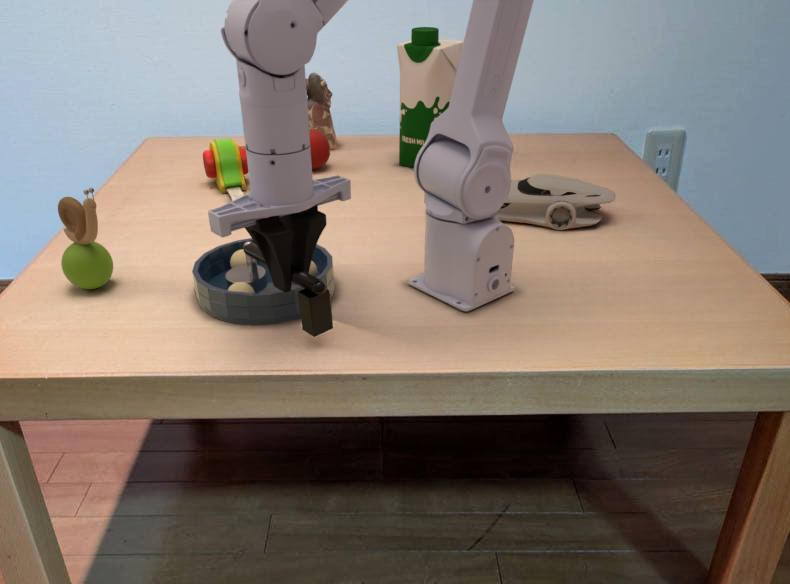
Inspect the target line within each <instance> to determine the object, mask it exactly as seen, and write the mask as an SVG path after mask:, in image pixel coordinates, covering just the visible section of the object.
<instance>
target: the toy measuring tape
mask: <svg viewBox="0 0 790 584" xmlns="http://www.w3.org/2000/svg"><path fill="white" fill-rule="evenodd" d="M238 146H239V145H238V142H237V140H235V139H232V138H231V137H229V138H228V137H227V138H217V139H213V141H211V142H210V143H209V149H206V150H204V151H203V152H202V162H203V163H202V164H203V168H204V172H205V175H206V177H207V178H208V179H214V181H215V183H216V185H217V187H218V189H219V191H220V192H221V193H222V194H226V193H228V195H229V196H230V199H231V202H232V201H234V200H236V199H238V198H240V197H242V196H244V195H245V194H244V192H243V191H246V190H247V185H246V180H245V175H248V174H249V172H248V164H247V156H246V150H245V149H244V148H243V147H238Z"/></svg>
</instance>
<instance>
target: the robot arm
mask: <svg viewBox="0 0 790 584" xmlns="http://www.w3.org/2000/svg"><path fill="white" fill-rule="evenodd" d="M348 1H349V0H231V2H230V4H229V5H228V7H227V10H226V14H227V16H226V17H225V18H224V26H223V27H221V28H220V34H221V37H222V41H223V43H224V45H225V47H226V49H227V51H228V52H229V53H230V54H231V55H232V57H234V59H235V63H236V70H237V79H238V87H239V91H238V95H239V103H240V111H241V120H242V128H243V137H244V146H245V147H246V156H247V164H248V179H249V188H250V189H249V190H250V192H248V193H246V194H244V196H242V197H240V198H238V199H236V200H234V201H232V200H231V201H230V202H227V203H226V204H224V205H222V206H219V207H216V208H213V209H210V210H208V211H207V214H208V222H209V227H210V232H212V233H213V234H215V235H216V236H218V237H220V238H226V237H229V236H231V235H232V232H235V231H238V230H241V229H245V230H246V232H247V233H248V235H249V237H250V238H252V239H253V240H254V242H255V244H256V245H257V247H258V249H259V250H260V252H261V254H262V256H263V258H264V260H265V262H266V265H267V267H268V270H269V272H270V275H271V278H272V281H273V284H274V287H276V288H278V289H279V290H281V291H283V292H285V293H286V292H289V291H291V285H292V282H293V281H292V280H291V268H290V264H292V265H294V266H296V267H298V268H300V269H301V270H303V271H305V272H307V273H309V269H310V265H311V260H312V257H313V253H314V250H315V247H316V244H318V242H319V239H320V237H321V235H322V233H323V231H324V230H325V228H326V226H327V214H325V213H324V212H322V211H320V210H319V206H322V205H325V204H329V203H332V202H336V201H340V202H346V201H349V200H351V199H352V187H351V180H350V178H346V177H344V176H341V175H339V174H337V175H333V176H328V177H322V178H315V179H313V169H312V164H311V148H310V134H309V119H308V104H307V98H308V96H307V90H306V79H307V78H306V65H307V64H309V63H310V62H311V60H312V58H313V56H314V54H315V52H316V51H315V50H316V46H317V40H318V33H319V32H320V31H321V30H322V29H323V28H324V27H325V26H326V25H327V24H328V23H329V22H330V21H331V20H332V19H333V18H334V16H336V14H338V12H339V11H341V9H342V8H343V7H344V6H345V4H347V3H348ZM533 4H534V0H472V4H471V8H470V13H469V17H468V22H467V26H466V30H465V35H464V39H463V41H464V43H463V47H462V51H461V56H460V60H459V65H458V69H457V73H456V78H455V82H454V86H453V91H452V95H451V99H450V104H449V107H448V108H447V110H445V111H444V112H443V113H442V114H441V115H440V116H438V117H437V118H436V119H435V120H434V121H433V122H432V123H431V127H430V131H429V135H428V137H427V140H426V142H425V143H424V145H423V146H422V148H421V149H420V151H419V153H418V155H417V157H416V160H415V164H414V168H413V176H414V180H415V182H416V184H417V186H418V187H419V188H420V190H421V191H422V192H424V195H423V196H424V198H423V202H424V203H425V219H424V221H425V222H424V223H425V224H424V227H425V228H424V261H423V273H421V274H417V275H416V276H412V277H410V278H408V279H407V285H410V286H411V287H414V288H416V289H417V290H419V291H422V292H423V293H426V294H428V295H430V296H431V297H434V298H435V299H438V300H439V301H442V302H443V303H446V304H448V305H450V306H452V307H454V308H456V309H458V310H460V311H462V312H470V311H472V310H475V309H476V308H479V307H481V306H483V305H486V304H488V303H490V302H492V301H495V300H497V299H498V298H501V297H503V296H505V295H507V294H510V293H512V292H514V291H515V286H514V285H512V284H511V278H512V269H513V261H514V260H513V259H514V249H515V236H514V232H513V231H512V229H511V228H510V227H509V226H508V225H507V224H505V223H504V222H503V221H502V220H499V219H498V218H497V217H496V216H497V211H498V210H499V209H500V208H501V206H502V205H503V204H504V202H505V200H506V199H507V196H508V194H509V191H510V187H511V180H512V174H511V173H512V172H511V161H512V156H513V153H514V150H515V147H514V144H513V142H512V139H511V137H510V135H509V133H508V131H507V128H506V127H505V124H504V121H503V117H504V114H505V111H506V107H507V102H508V100H509V95H510V91H511V87H512V85H513V84H512V83H513V80H514V76H515V72H516V69H517V64H518V60H519V57H520V54H521V49H522V46H523V43H524V38H525V34H526V30H527V27H528V24H529V19H530V16H531V12H532V8H533ZM294 283H295V282H294ZM296 284H297V283H296ZM299 286H300V285H299ZM301 287H302V286H301Z"/></svg>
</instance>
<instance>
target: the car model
mask: <svg viewBox="0 0 790 584" xmlns="http://www.w3.org/2000/svg"><path fill="white" fill-rule="evenodd" d="M616 198H617V195H616V192H615V191H613V190H612V189H610V188H608V187H604V186H602V185H598V184H596V183H592V182H588V181H585V180H582V179H578V178H575V177H570V176H564V175H557V174H549V173H536V174H533V175H531V176H529V177H527V178H524V179H511V187H510V191H509V194H508V196H507V199H506V200H505V202H504V204H503V205H502V206H501V208H500V209H499V210H498V211H497V216H496V217H497V218H498V219H499V220H500V221H501V222H514V223H524V224H530V225H536V226H540V227H541V226H542V227H547V228H550V229H553V230H558V231H564V230H570V229H576V228H583V227H589V226H591V227H592V226H595V225H597V224H599V222H600V221H601V220H602V218H603V215H601V214H598V213H594V212H593V211H598V210H601V208H602V206H601V205H605V204H610V203H612V202H614V201H615V200H616Z"/></svg>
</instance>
